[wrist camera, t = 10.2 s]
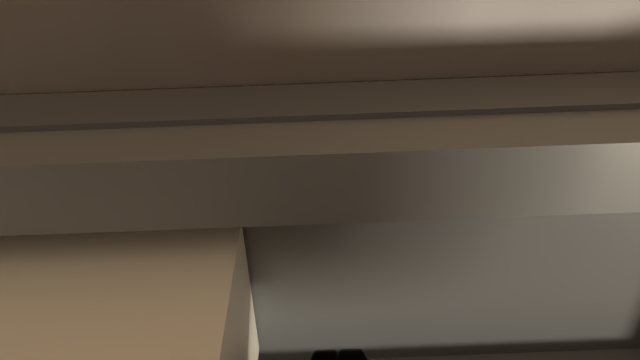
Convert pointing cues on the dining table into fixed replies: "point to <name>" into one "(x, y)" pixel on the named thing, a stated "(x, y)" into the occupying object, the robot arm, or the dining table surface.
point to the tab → (127, 296)
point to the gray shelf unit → (368, 204)
